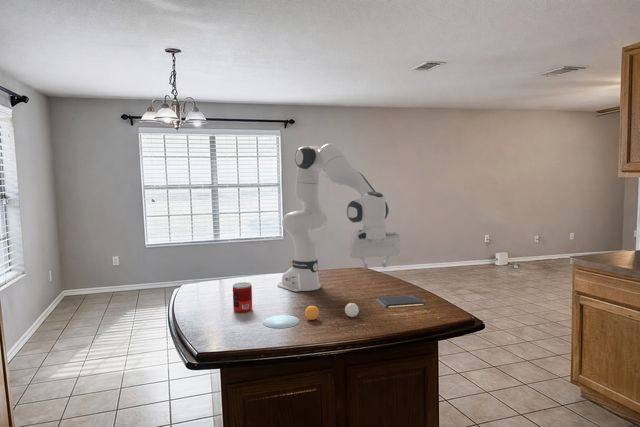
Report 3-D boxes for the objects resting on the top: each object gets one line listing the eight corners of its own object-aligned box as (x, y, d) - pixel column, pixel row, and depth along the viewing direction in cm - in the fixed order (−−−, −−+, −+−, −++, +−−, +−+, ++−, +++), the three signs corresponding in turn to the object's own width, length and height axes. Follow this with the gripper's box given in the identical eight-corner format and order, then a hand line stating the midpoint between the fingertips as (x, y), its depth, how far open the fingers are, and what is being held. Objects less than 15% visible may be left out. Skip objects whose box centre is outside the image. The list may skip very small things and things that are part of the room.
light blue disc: (255, 323, 162) (255, 323, 161) (279, 313, 173) (279, 313, 173) (283, 331, 153) (283, 330, 153) (306, 319, 165) (306, 319, 165)
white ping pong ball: (342, 317, 167) (342, 303, 167) (349, 313, 172) (349, 300, 171) (354, 320, 164) (354, 306, 163) (361, 316, 168) (361, 302, 168)
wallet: (416, 293, 195) (429, 303, 180) (416, 297, 195) (429, 307, 180) (374, 296, 192) (384, 306, 177) (374, 300, 192) (384, 310, 177)
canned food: (255, 308, 181) (254, 282, 180) (246, 314, 173) (245, 287, 172) (239, 306, 183) (238, 281, 182) (230, 312, 176) (229, 286, 175)
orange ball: (302, 320, 164) (302, 306, 164) (310, 316, 169) (310, 302, 168) (313, 322, 161) (313, 308, 161) (321, 318, 166) (321, 305, 165)
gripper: (396, 231, 171) (396, 264, 172) (347, 233, 168) (348, 267, 169) (402, 233, 165) (402, 267, 166) (351, 235, 162) (352, 270, 163)
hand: (374, 267), depth 168 cm, fingers open, 6 cm apart
